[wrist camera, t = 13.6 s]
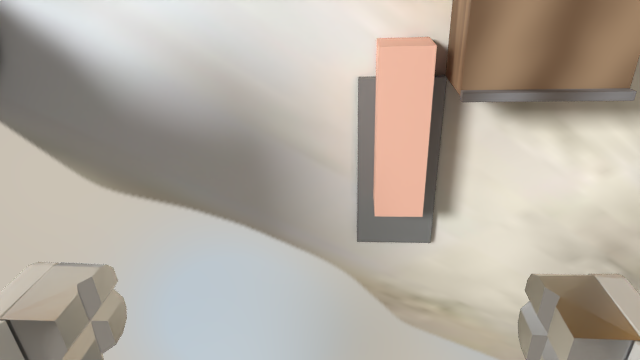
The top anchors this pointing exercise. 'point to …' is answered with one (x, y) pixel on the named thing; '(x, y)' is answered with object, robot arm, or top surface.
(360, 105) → the mat
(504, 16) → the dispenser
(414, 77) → the pink rectangular block
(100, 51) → the top surface
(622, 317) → the robot arm
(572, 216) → the top surface
